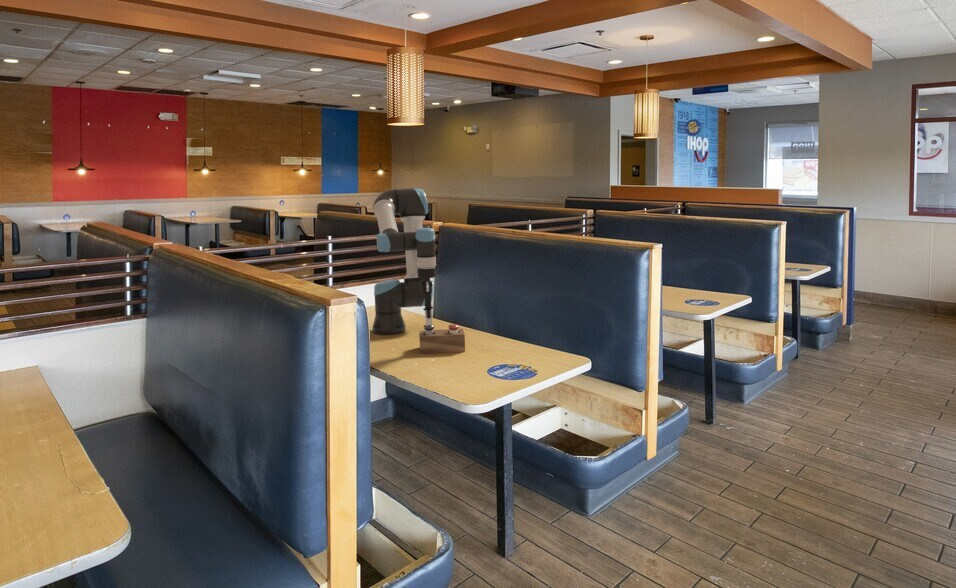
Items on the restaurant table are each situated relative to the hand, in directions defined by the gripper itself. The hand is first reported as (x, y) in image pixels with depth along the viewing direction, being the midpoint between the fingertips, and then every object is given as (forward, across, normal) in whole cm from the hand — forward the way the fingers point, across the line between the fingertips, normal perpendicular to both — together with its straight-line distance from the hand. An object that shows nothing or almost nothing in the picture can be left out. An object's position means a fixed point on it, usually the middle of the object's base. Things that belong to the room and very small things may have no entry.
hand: (429, 325), depth 263 cm
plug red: (+8, 0, +10) cm, 13 cm away
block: (+10, 0, +5) cm, 12 cm away
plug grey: (+8, 0, 0) cm, 8 cm away
